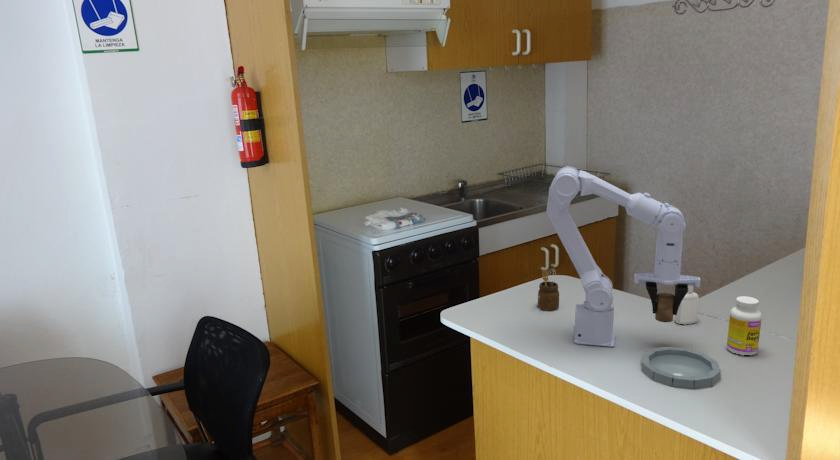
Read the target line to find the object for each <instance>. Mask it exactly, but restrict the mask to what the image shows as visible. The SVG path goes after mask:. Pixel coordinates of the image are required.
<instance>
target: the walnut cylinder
mask: <svg viewBox="0 0 840 460" xmlns="http://www.w3.org/2000/svg"><path fill="white" fill-rule="evenodd" d="M674 298H675V294H673V293H668V292H657V298H656V314H655V317H654V318H655V320H656V321H657V322H661V323H671V322H673V321H674V314H673V312H674Z"/></svg>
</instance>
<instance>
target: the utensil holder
mask: <svg viewBox="0 0 840 460" xmlns="http://www.w3.org/2000/svg"><path fill="white" fill-rule="evenodd" d="M551 271H552V272H553V273H552V272H551ZM541 272H542V273H541V274H542V275H541V276H542V280H543V281H542V282H540V283H539V287H538V288H539V289H538V292H537V307H538V309H540V310H542V311H546V312H547V311H548V312H551V311H556V310H558V309H559V307H560V291H559V284H558V282H556V279H557V278H556V277H557V274H555V273H557V272H556V270H555V269H552V270H542V271H541ZM554 272H555V273H554ZM549 273H550V274H549ZM551 273H552V278H554V275H555V278H554V279H551V280H552V281H551V280H549V276H551Z"/></svg>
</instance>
